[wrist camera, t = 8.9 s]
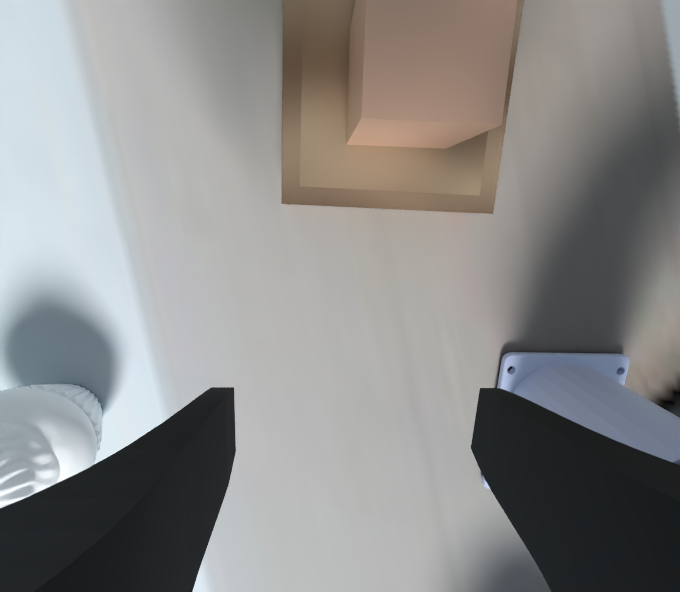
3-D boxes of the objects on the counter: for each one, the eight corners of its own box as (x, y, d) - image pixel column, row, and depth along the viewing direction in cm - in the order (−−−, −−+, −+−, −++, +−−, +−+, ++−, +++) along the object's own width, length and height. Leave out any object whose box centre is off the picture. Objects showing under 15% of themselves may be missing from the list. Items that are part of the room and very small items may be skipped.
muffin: (99, 345, 20) (-11, 416, 13) (147, 436, 21) (71, 542, 15) (-7, 379, 20) (-171, 468, 13) (49, 468, 22) (-73, 588, 15)
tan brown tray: (470, 212, 20) (493, 213, 17) (285, 203, 19) (281, 203, 16) (498, -2, 17) (529, -37, 15) (287, -23, 16) (283, -64, 14)
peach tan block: (445, 148, 16) (501, 124, 11) (346, 144, 16) (361, 118, 11) (455, 34, 15) (523, -45, 10) (349, 27, 15) (368, -59, 10)
